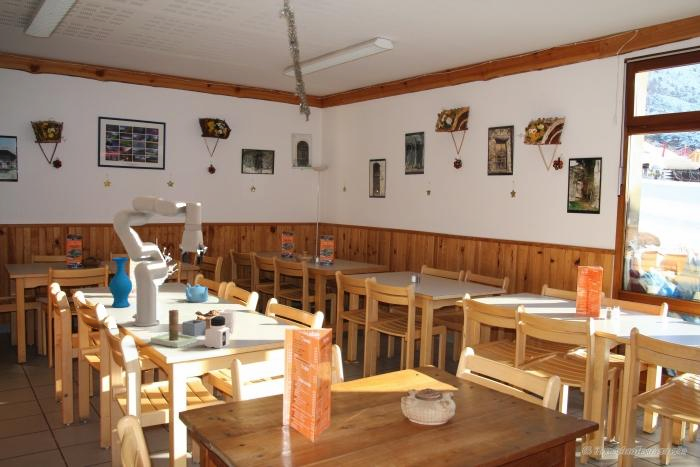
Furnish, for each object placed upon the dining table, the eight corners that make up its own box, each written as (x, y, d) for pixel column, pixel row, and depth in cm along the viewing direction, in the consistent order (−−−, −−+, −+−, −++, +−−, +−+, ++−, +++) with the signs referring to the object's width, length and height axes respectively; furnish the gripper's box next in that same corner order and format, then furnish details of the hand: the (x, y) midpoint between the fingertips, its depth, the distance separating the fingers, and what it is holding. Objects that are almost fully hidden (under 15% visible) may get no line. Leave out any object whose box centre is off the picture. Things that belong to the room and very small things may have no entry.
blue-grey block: (182, 334, 284) (182, 322, 284) (193, 331, 291) (194, 319, 291) (194, 337, 281) (194, 324, 280) (205, 333, 287) (206, 321, 287)
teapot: (210, 298, 379) (211, 282, 378) (208, 303, 364) (208, 286, 364) (186, 299, 377) (186, 282, 376) (183, 303, 362) (183, 286, 362)
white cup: (231, 334, 288) (231, 313, 287) (216, 333, 290) (216, 312, 289) (238, 330, 296) (238, 310, 295) (222, 329, 297) (223, 309, 297)
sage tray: (150, 342, 269) (150, 337, 269) (170, 337, 279) (170, 332, 279) (177, 347, 261) (177, 342, 261) (196, 342, 272) (196, 337, 272)
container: (229, 344, 268) (229, 315, 267) (220, 348, 261) (220, 319, 260) (214, 342, 271) (214, 314, 270) (204, 347, 264) (205, 317, 263)
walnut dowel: (167, 339, 270) (167, 311, 269) (173, 338, 273) (173, 309, 272) (173, 341, 268) (173, 312, 267) (180, 339, 271) (180, 310, 270)
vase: (136, 306, 351) (136, 258, 349) (118, 309, 340) (117, 259, 338) (123, 303, 357) (123, 256, 355) (104, 306, 347) (104, 258, 345)
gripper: (174, 227, 290) (173, 262, 291) (200, 229, 281) (199, 266, 282) (186, 226, 296) (185, 261, 297) (212, 228, 287) (211, 264, 288)
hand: (192, 263), depth 290 cm, fingers open, 9 cm apart
